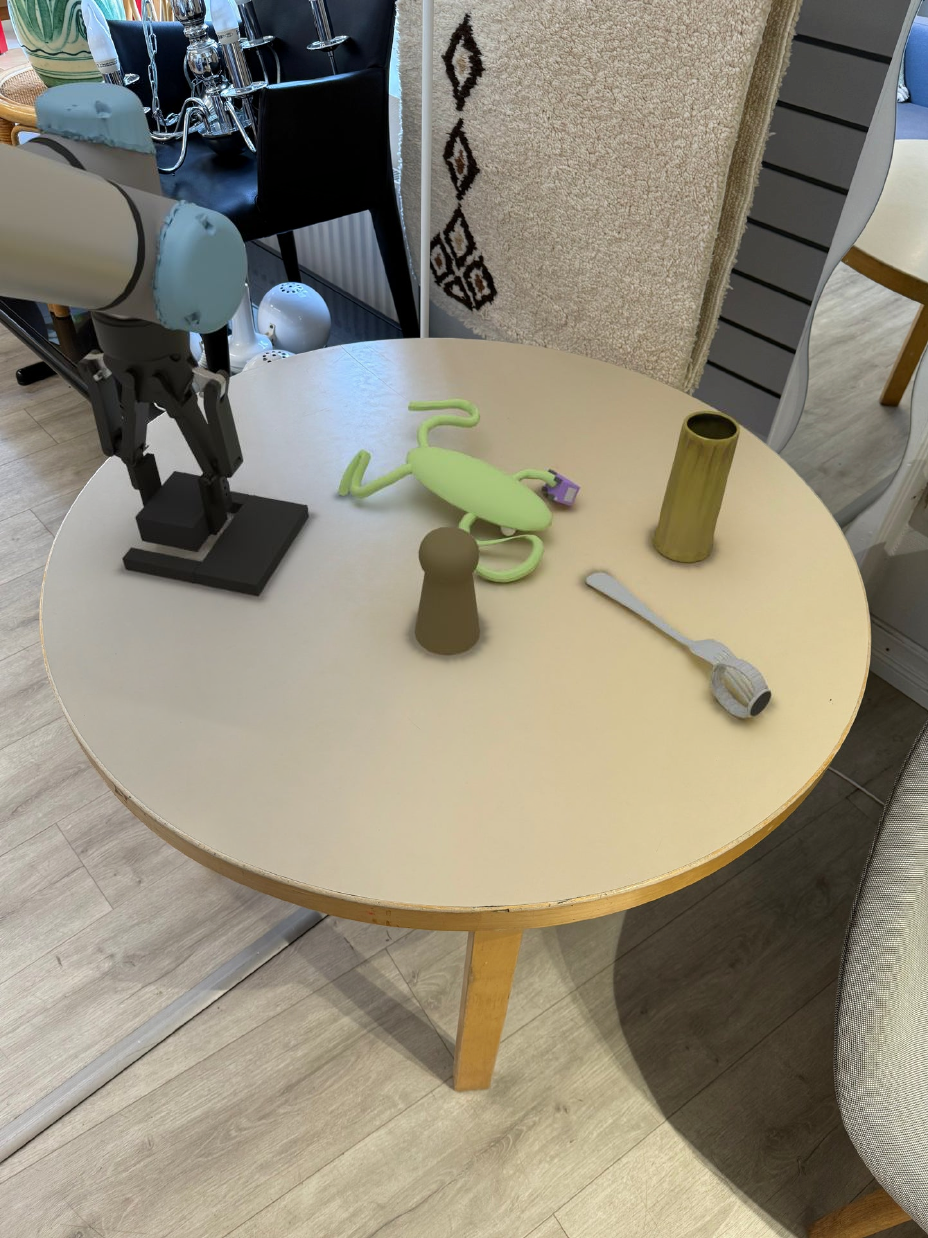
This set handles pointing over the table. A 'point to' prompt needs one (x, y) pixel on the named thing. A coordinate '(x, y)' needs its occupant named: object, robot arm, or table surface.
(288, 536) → the black pad
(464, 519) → the figurine
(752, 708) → the ring
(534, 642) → the table surface
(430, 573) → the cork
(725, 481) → the vase
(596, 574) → the fork
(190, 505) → the charcoal pad
